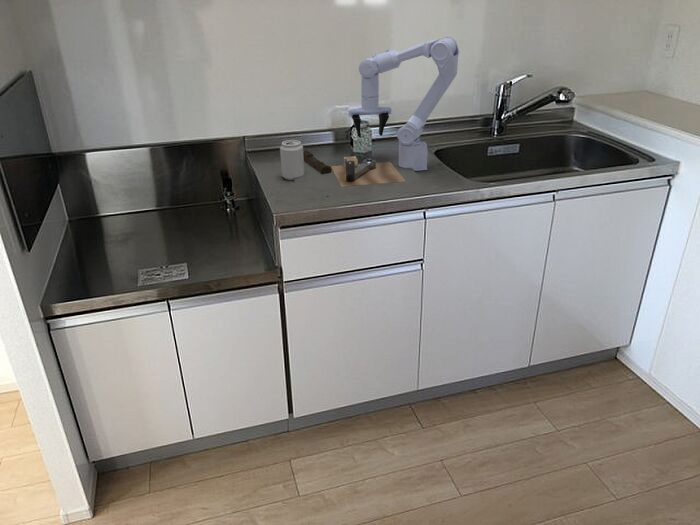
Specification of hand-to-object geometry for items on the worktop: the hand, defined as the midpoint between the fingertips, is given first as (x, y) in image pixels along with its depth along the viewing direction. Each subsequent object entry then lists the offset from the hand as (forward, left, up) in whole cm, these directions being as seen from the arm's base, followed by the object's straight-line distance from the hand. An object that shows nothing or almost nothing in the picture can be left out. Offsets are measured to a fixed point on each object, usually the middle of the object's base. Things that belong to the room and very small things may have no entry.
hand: (369, 135), depth 200 cm
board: (+4, +14, -10) cm, 17 cm away
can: (+28, +8, -10) cm, 31 cm away
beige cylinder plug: (+8, +9, -9) cm, 15 cm away
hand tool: (+20, +1, -10) cm, 23 cm away
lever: (+6, +13, -9) cm, 17 cm away
